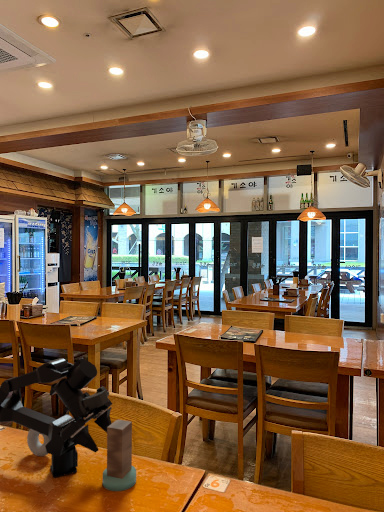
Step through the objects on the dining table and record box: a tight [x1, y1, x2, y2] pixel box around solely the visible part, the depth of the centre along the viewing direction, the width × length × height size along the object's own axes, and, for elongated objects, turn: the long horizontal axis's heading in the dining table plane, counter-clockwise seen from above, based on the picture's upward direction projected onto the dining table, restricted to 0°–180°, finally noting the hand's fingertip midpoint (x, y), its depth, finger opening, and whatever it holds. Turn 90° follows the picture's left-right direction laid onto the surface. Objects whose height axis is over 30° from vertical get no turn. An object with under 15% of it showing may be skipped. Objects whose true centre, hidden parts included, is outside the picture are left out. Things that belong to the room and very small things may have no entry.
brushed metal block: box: [106, 419, 133, 479], centre depth 106 cm, size 5×5×13 cm
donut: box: [26, 428, 50, 457], centre depth 120 cm, size 10×4×10 cm, turn 68°
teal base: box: [102, 465, 137, 492], centre depth 106 cm, size 9×9×2 cm
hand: (105, 443), depth 107 cm, fingers open, 9 cm apart
